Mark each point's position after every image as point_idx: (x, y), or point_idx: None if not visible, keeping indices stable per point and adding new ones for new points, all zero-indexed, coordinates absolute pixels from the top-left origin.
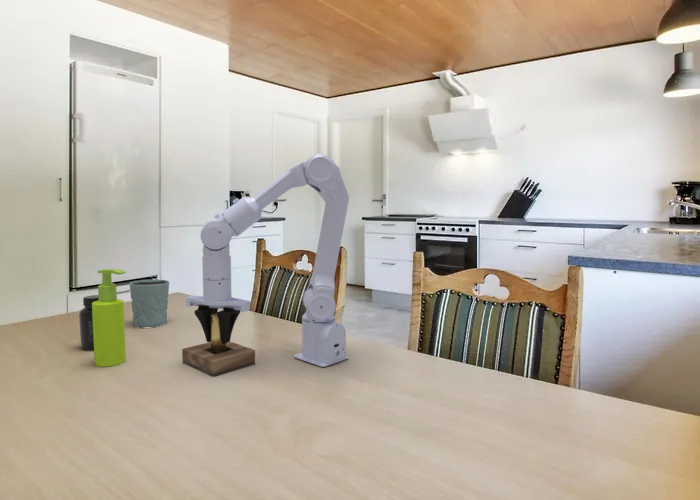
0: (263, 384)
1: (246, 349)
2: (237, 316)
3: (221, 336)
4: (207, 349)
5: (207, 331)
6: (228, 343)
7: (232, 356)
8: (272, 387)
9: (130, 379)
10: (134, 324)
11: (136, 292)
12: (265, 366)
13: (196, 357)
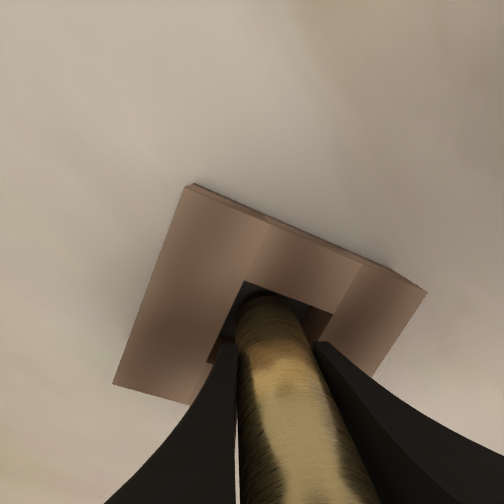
0: (466, 391)
1: (388, 297)
2: (478, 452)
3: None
4: (213, 340)
5: (234, 446)
6: (262, 250)
7: None
8: (494, 397)
9: (104, 483)
10: None
11: None
12: (434, 276)
13: None
